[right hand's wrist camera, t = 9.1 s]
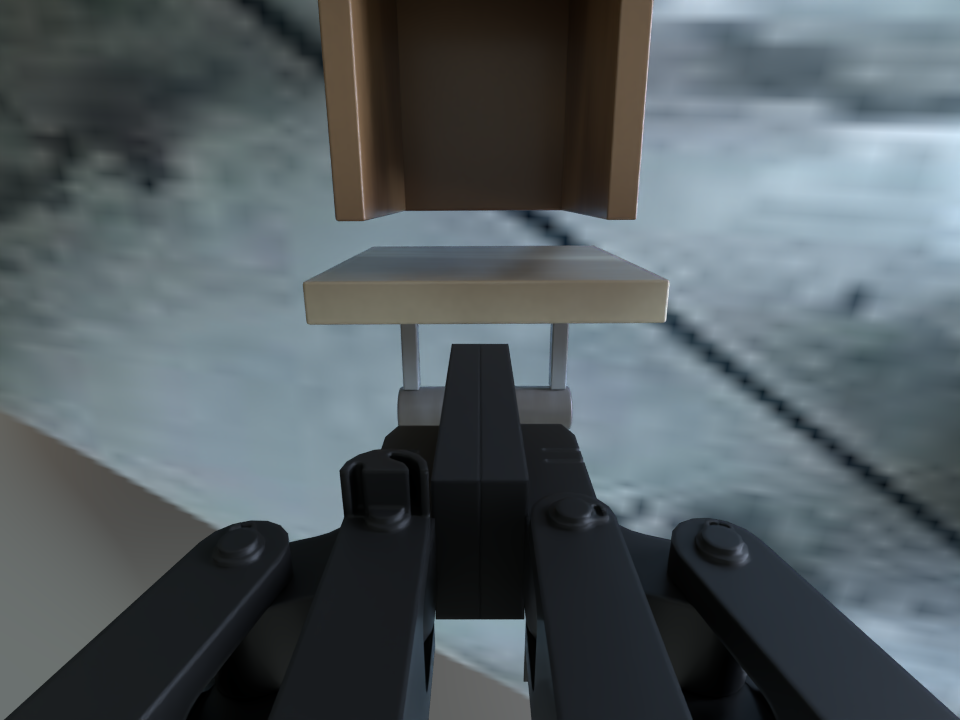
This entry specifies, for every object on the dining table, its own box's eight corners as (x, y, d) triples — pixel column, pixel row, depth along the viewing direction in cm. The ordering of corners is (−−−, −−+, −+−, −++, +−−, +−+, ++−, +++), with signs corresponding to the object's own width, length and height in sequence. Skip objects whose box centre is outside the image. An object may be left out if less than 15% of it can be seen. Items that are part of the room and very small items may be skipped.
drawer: (587, 387, 26) (649, 498, 16) (380, 388, 26) (323, 500, 16) (628, -337, 18) (789, -907, 9) (334, -336, 18) (178, -904, 9)
